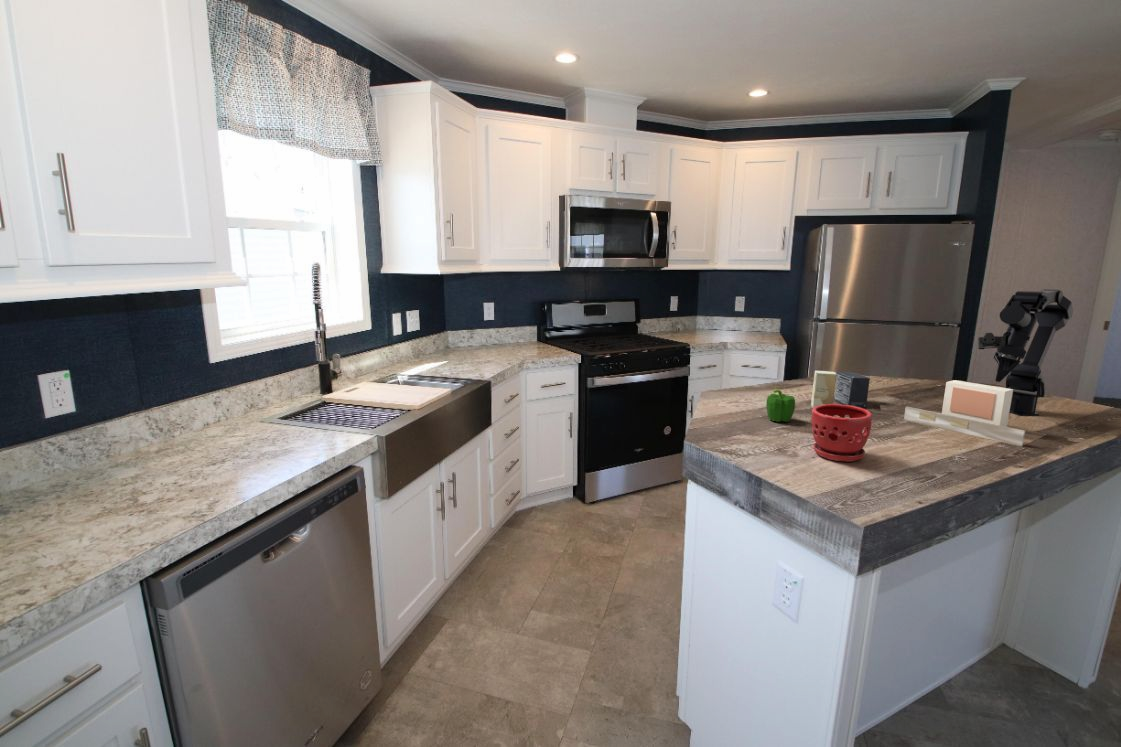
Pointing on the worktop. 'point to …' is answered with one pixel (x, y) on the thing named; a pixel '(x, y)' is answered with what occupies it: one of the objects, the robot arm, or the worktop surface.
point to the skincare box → (823, 388)
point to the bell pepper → (780, 406)
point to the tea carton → (977, 402)
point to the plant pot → (840, 431)
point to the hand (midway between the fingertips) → (997, 381)
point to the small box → (851, 389)
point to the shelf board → (972, 427)
